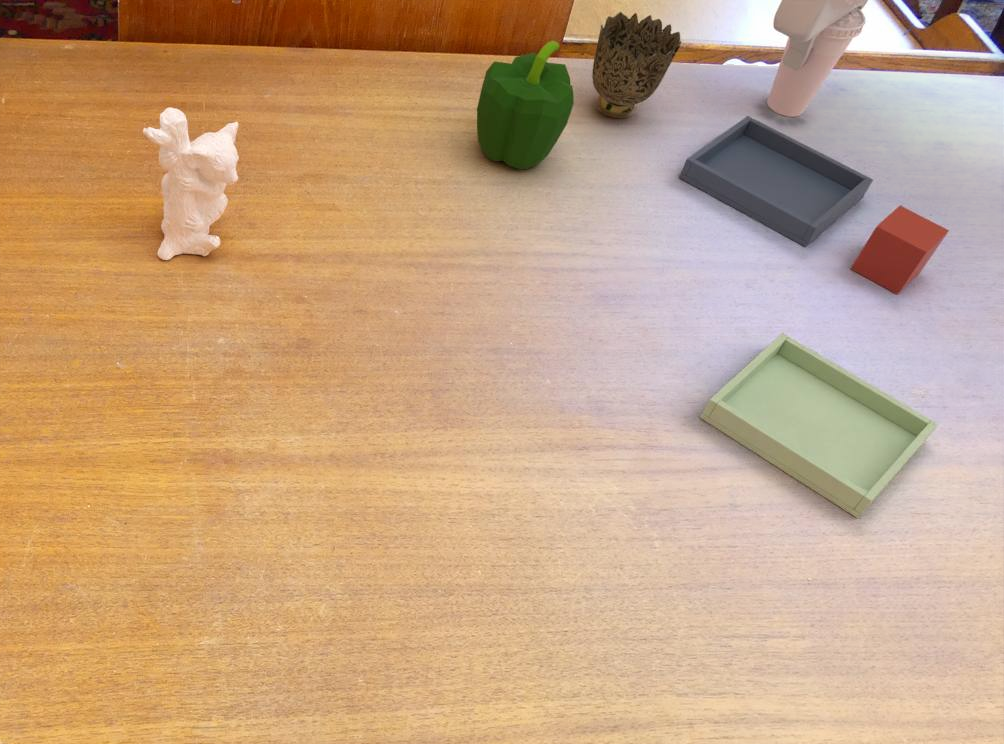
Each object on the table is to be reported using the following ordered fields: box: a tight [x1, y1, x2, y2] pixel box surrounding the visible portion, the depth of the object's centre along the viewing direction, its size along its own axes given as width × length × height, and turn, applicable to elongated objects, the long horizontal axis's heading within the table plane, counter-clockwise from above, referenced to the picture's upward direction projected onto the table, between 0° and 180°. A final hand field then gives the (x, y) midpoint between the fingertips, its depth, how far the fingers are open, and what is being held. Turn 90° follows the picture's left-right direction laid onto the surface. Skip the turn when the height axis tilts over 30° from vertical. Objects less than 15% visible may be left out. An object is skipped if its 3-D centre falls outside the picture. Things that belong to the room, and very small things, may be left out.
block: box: [850, 205, 950, 295], centre depth 95 cm, size 4×4×4 cm
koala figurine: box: [142, 107, 240, 261], centre depth 88 cm, size 8×7×12 cm
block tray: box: [678, 115, 874, 248], centre depth 103 cm, size 13×11×2 cm
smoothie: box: [766, 8, 867, 118], centre depth 106 cm, size 6×6×14 cm
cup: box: [591, 11, 682, 119], centre depth 106 cm, size 8×7×8 cm
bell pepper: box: [476, 40, 575, 170], centre depth 100 cm, size 8×8×10 cm
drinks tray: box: [699, 332, 939, 519], centre depth 84 cm, size 13×11×2 cm
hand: (812, 52), depth 108 cm, fingers closed on smoothie, 6 cm apart
